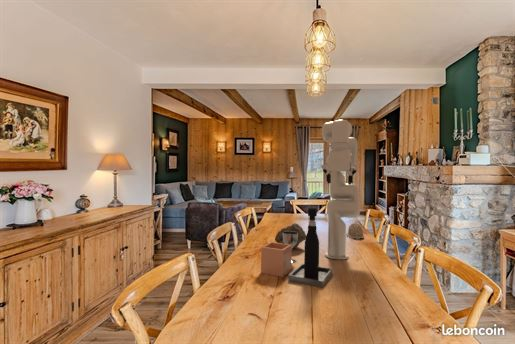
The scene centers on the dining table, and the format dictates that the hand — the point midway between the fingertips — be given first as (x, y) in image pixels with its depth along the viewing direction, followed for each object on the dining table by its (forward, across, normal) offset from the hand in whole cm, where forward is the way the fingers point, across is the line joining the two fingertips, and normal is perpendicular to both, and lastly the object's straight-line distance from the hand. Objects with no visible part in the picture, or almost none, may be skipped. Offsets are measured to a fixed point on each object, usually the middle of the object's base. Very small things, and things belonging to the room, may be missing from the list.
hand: (339, 183), depth 142 cm
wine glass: (+42, -26, +5) cm, 50 cm away
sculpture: (+44, -8, +82) cm, 94 cm away
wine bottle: (+41, -9, -13) cm, 44 cm away
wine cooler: (+42, -26, -13) cm, 51 cm away
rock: (+43, -37, +26) cm, 62 cm away
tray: (+42, -9, -13) cm, 45 cm away
